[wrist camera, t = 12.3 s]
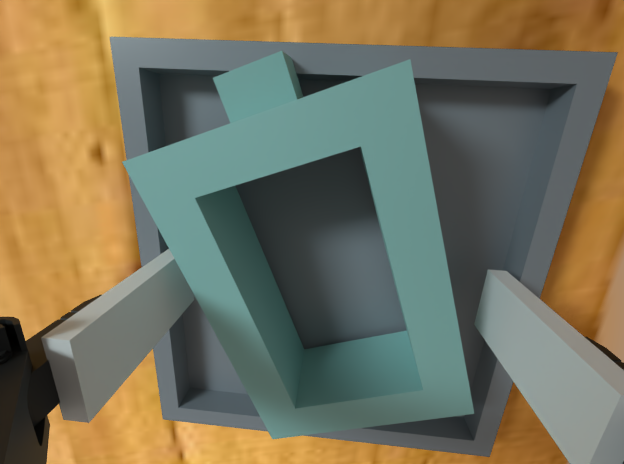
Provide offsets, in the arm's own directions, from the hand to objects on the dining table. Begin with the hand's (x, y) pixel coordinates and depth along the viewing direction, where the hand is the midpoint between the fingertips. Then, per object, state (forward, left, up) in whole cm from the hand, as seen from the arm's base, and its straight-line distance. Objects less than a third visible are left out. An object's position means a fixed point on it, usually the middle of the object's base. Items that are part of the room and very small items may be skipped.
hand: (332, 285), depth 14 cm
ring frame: (-1, 0, -1) cm, 1 cm away
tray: (0, 0, -2) cm, 2 cm away
